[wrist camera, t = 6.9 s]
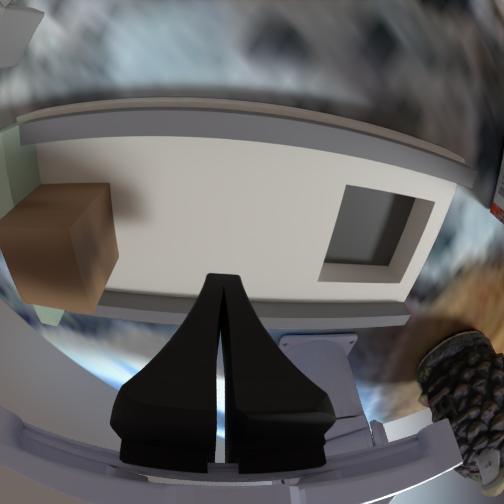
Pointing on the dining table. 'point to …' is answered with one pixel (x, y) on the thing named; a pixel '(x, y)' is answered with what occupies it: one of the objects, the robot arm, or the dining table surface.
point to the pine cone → (469, 403)
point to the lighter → (16, 31)
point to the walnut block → (61, 245)
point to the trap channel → (244, 205)
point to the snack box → (499, 195)
